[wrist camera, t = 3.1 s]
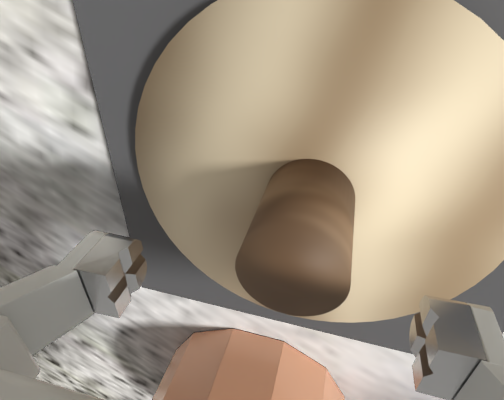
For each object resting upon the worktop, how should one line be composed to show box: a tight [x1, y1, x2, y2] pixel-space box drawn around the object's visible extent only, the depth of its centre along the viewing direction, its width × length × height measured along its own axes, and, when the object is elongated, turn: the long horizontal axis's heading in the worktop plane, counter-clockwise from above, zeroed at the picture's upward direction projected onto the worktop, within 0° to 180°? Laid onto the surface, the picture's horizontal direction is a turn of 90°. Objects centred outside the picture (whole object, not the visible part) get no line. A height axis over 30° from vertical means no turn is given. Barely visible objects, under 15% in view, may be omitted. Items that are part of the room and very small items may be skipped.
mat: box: [73, 0, 504, 354], centre depth 14 cm, size 18×18×1 cm
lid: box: [135, 0, 504, 323], centre depth 12 cm, size 14×14×5 cm
